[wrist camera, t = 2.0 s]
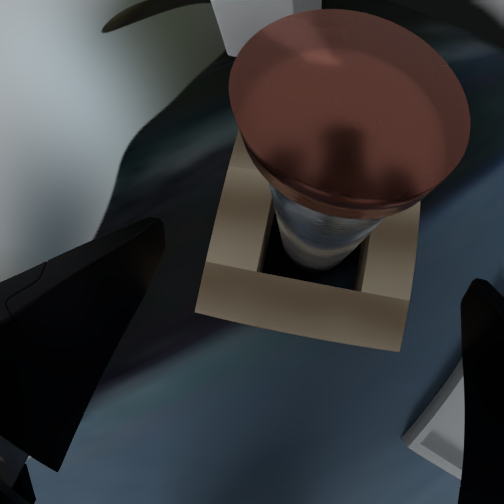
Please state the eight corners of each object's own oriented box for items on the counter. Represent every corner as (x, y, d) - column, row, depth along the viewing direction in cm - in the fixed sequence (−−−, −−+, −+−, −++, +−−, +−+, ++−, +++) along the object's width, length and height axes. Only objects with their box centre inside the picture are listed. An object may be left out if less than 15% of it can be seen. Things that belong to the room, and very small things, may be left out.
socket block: (386, 346, 17) (399, 352, 15) (207, 311, 19) (194, 312, 16) (408, 174, 18) (421, 158, 16) (245, 144, 20) (239, 125, 18)
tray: (482, 488, 14) (490, 496, 12) (400, 438, 16) (407, 447, 14) (559, 373, 14) (570, 375, 13) (494, 299, 16) (506, 299, 15)
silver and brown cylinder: (323, 293, 18) (405, 260, 4) (261, 246, 19) (177, 105, 5) (367, 232, 18) (491, 86, 4) (307, 188, 19) (315, -11, 5)
